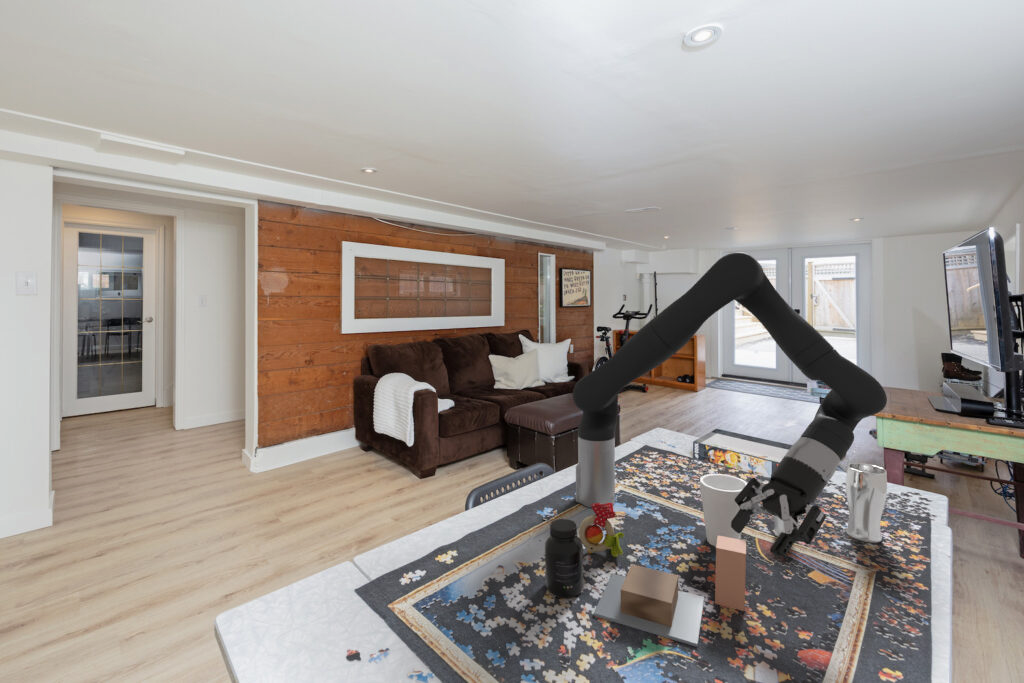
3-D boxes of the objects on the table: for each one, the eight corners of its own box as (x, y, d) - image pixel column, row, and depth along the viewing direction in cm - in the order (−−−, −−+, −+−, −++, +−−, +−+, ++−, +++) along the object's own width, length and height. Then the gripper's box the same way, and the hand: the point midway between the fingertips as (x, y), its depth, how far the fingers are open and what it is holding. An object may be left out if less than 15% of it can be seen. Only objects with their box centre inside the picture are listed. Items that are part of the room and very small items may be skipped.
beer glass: (878, 531, 100) (882, 464, 99) (889, 546, 94) (892, 476, 93) (840, 525, 103) (843, 460, 102) (847, 540, 97) (851, 471, 96)
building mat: (593, 615, 76) (593, 612, 76) (612, 576, 86) (612, 573, 86) (697, 647, 68) (697, 643, 68) (704, 599, 79) (704, 596, 79)
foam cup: (711, 526, 104) (712, 470, 103) (754, 541, 97) (756, 482, 96) (691, 541, 98) (691, 482, 97) (735, 558, 91) (736, 495, 90)
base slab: (620, 612, 76) (620, 589, 75) (631, 585, 83) (631, 564, 82) (671, 627, 72) (671, 603, 72) (678, 597, 79) (678, 575, 79)
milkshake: (803, 542, 97) (805, 496, 96) (775, 540, 98) (776, 495, 97) (794, 531, 101) (796, 487, 100) (768, 529, 102) (769, 486, 101)
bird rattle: (592, 571, 92) (634, 554, 91) (569, 522, 91) (611, 504, 90) (589, 554, 98) (628, 538, 97) (567, 508, 97) (607, 491, 96)
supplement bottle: (542, 577, 86) (541, 516, 85) (578, 574, 87) (577, 514, 86) (548, 601, 80) (547, 535, 79) (587, 598, 80) (586, 532, 79)
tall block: (715, 603, 78) (716, 547, 77) (716, 588, 82) (717, 535, 81) (744, 611, 76) (746, 553, 75) (744, 595, 80) (746, 540, 79)
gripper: (761, 444, 88) (711, 512, 85) (833, 470, 74) (777, 551, 72) (781, 468, 90) (733, 534, 88) (855, 497, 77) (801, 576, 74)
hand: (753, 541), depth 80 cm, fingers open, 8 cm apart
